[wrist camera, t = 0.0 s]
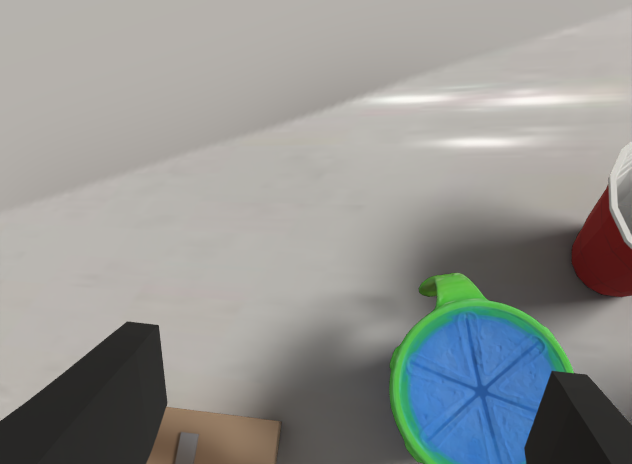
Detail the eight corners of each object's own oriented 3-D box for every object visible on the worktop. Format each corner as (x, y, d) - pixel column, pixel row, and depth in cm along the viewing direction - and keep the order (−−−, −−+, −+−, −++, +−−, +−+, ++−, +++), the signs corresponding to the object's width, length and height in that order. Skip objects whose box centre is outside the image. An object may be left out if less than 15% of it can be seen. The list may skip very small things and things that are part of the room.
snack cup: (540, 514, 39) (609, 543, 29) (386, 520, 39) (403, 551, 29) (506, 291, 44) (554, 252, 34) (370, 297, 44) (380, 260, 34)
